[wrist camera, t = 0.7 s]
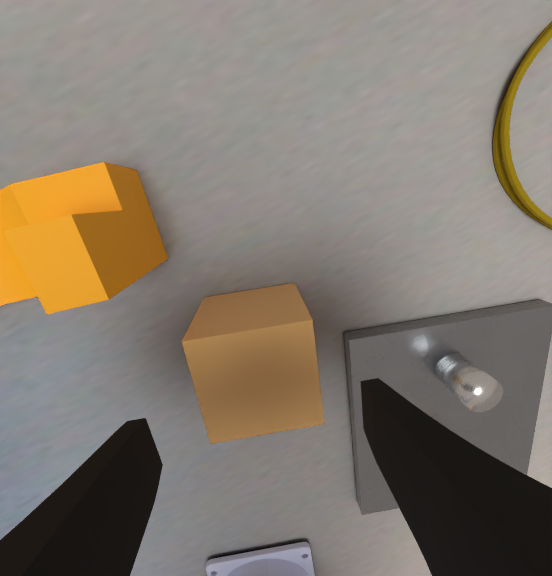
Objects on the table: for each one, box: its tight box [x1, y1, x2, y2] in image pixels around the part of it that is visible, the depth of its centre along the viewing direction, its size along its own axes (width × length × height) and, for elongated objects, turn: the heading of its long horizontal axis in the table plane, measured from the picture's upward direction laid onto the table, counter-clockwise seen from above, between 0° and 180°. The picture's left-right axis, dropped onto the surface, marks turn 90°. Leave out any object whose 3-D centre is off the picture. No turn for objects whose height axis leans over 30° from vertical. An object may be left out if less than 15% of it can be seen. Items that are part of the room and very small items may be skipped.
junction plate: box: [344, 299, 552, 515], centre depth 17 cm, size 14×12×4 cm
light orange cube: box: [182, 283, 325, 444], centre depth 14 cm, size 5×5×5 cm
